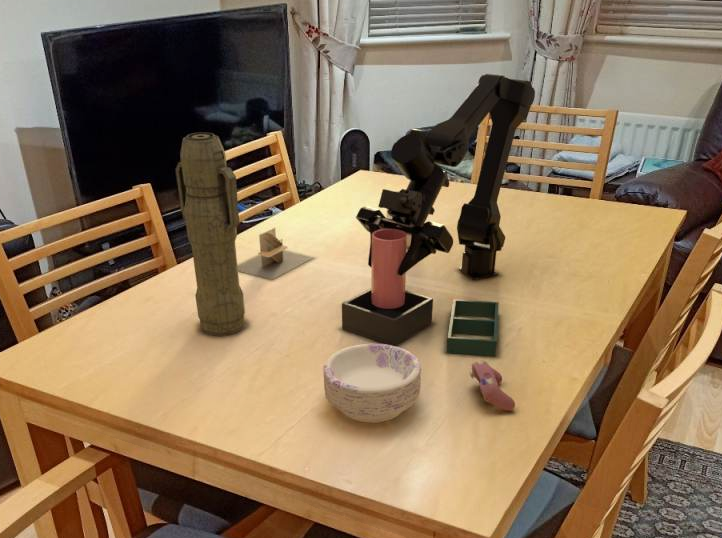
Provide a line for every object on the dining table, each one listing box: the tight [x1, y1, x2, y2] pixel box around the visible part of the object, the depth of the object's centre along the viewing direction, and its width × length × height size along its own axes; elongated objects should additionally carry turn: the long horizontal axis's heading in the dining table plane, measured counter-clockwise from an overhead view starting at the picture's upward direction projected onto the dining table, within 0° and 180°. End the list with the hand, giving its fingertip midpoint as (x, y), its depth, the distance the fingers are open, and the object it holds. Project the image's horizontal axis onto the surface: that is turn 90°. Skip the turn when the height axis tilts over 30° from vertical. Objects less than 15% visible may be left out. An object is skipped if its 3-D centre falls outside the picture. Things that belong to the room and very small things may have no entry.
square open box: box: [341, 287, 434, 347], centre depth 144 cm, size 12×12×5 cm
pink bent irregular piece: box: [469, 359, 516, 412], centre depth 122 cm, size 10×5×7 cm, turn 5°
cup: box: [370, 229, 408, 309], centre depth 139 cm, size 6×6×13 cm
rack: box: [446, 298, 500, 357], centre depth 142 cm, size 17×9×3 cm, turn 170°
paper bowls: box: [323, 343, 422, 424], centre depth 119 cm, size 15×15×8 cm
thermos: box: [174, 131, 246, 337], centre depth 137 cm, size 9×12×35 cm
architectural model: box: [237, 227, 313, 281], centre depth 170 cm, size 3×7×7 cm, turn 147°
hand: (384, 270), depth 138 cm, fingers closed on cup, 6 cm apart
